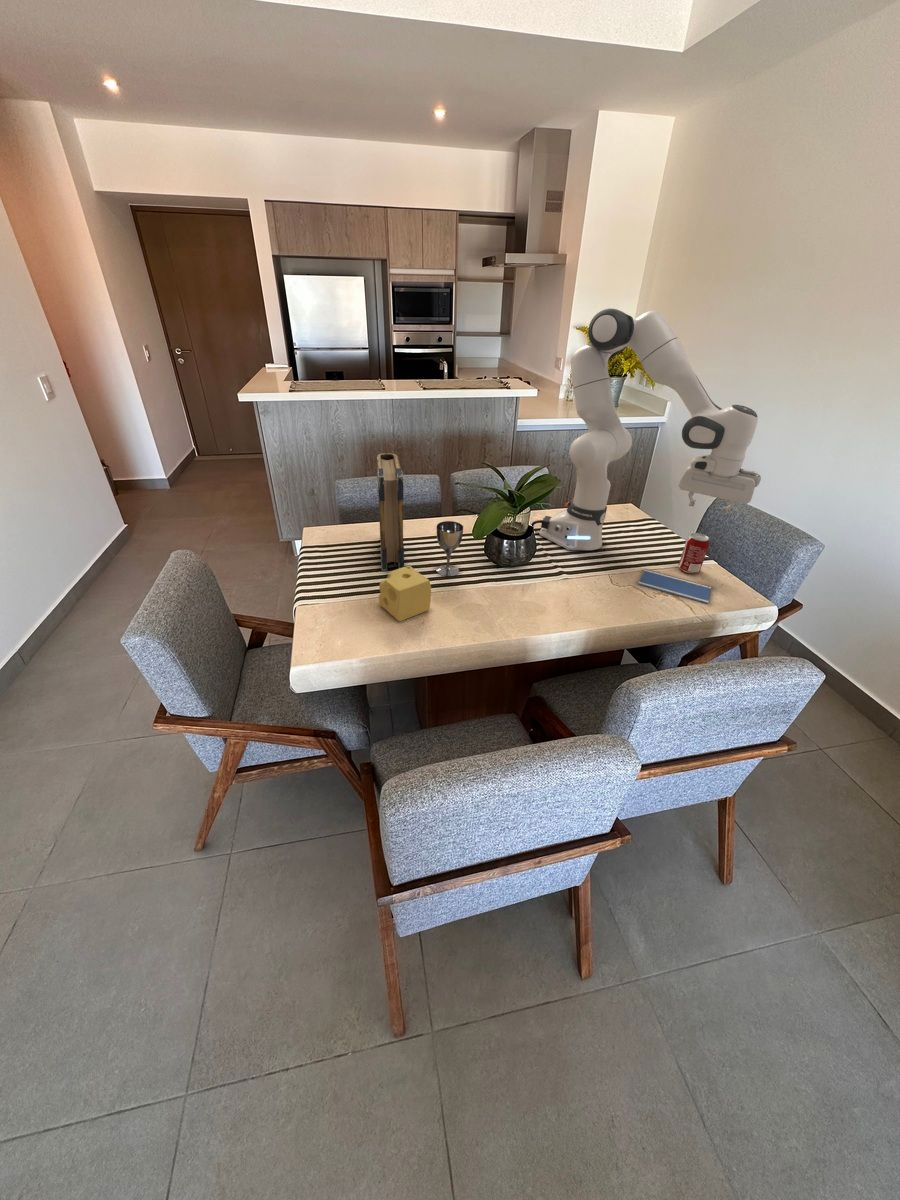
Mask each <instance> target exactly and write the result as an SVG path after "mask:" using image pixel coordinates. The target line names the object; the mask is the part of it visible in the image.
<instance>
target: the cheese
mask: <svg viewBox="0 0 900 1200" xmlns="http://www.w3.org/2000/svg"><path fill="white" fill-rule="evenodd" d="M378 589H379V592H380V593H379V595H378V602H379V603H378V604H379V606H380V607H381V608H383V609H385V610H386V611H387V613H389V614H390V615H391V616H392V617H394V619H395V620H396V621H398V622H402V621H404V620H407V619H409V618H412V617H415V616H418V615H420V614H422V613H424V612H428V611H429V610H430V607H431V602H432V585H431V581H430V579H428V578H427V577H426V576H424V575H423V574H421V573H420V572H418V571H417V570H416V569H414V567H412V566H411V565H406V566H404V567H403V568H399V567H398V568H396V569H393V570H392V571H389V573H387V576H386V578H385V579H384V580H381V581H380V582H379V588H378Z"/></svg>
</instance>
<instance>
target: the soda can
mask: <svg viewBox="0 0 900 1200" xmlns="http://www.w3.org/2000/svg"><path fill="white" fill-rule="evenodd" d="M709 540H710V536H708V535H706V534H704V533H700V532H692V533H691V534H690V535H689V537H687V538H686V541H685V543H684V546H683V550H682V553H681V556H680V558H679V562H678V564H677V567H678V569H679V570H681V571H682V572H683V573H686V574H698V573H700V572H701V570H702V566H703V564H704V562H705V558H706V556H707V553H708V550H709V548H710V541H709Z"/></svg>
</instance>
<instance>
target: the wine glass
mask: <svg viewBox="0 0 900 1200" xmlns="http://www.w3.org/2000/svg"><path fill="white" fill-rule="evenodd" d="M435 530H436V532H435V535H436V540H437V543H438V545H439V547H440V548H441V549H442V550H443V551H444V553H445V555H446V564H442V565H439V566H438V567H437V568H436V573H437V574H438V575H440V576H442V577H444V576H445V577H454V576H456V575H458V574H459V573H460V569H459V568H458V567H457V566H455V565H452V564H450V561H451V556H452V554H453V552H454V551H455V550H456V549H457V548H459V547H460V545H461V543H462V540H463V534H464V525H462V524H461V523H460V522H457V521H453V520H445V521H441V522H438V523H437V524H436V529H435Z"/></svg>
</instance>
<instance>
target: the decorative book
mask: <svg viewBox="0 0 900 1200" xmlns="http://www.w3.org/2000/svg"><path fill="white" fill-rule="evenodd" d="M376 474H377V475H376V477H377V494H378V495H377V496H378V497H377V498H378V517H379V541H380V550H379V551H380V567H381V571H382V572H384V571H385V572H386V571H388V564H389V563H393V562H394V564H396V563H397V565H398V569H399V568H403V567H405V547H404V546H405V545H404V499H405V498H404V497H405V496H404V472H403V469H402V467H401V465H400V461H399V456H398V455H397V454H396V453H390V452H389V453H388V452H387V453H386V452H384V453H383V452H382V453H377V455H376Z"/></svg>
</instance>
